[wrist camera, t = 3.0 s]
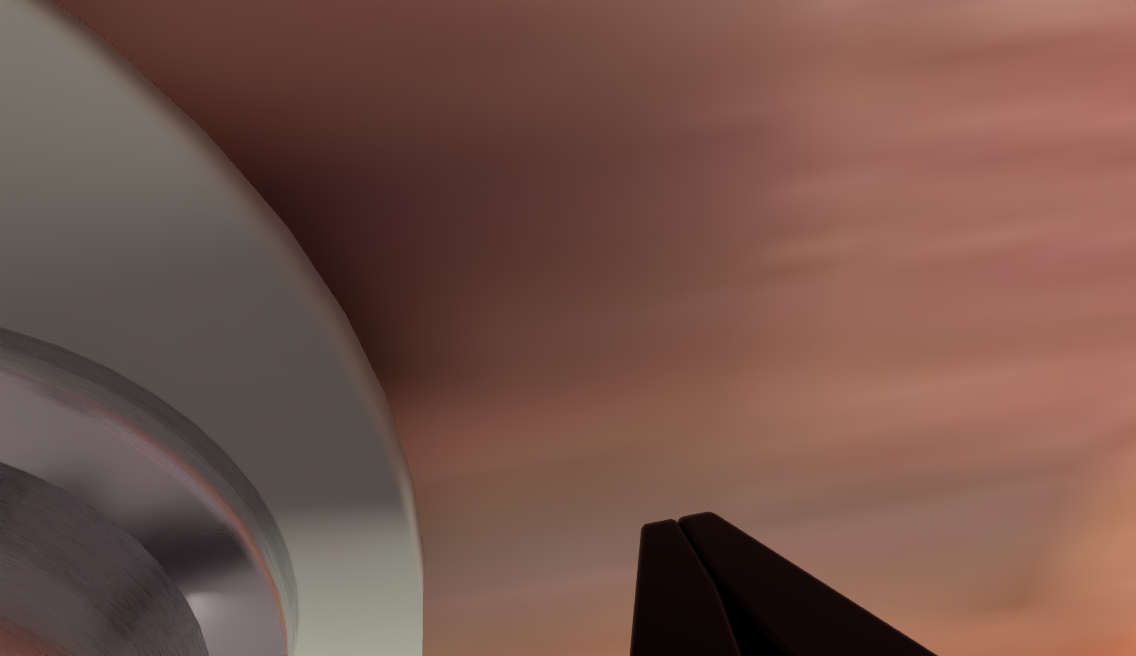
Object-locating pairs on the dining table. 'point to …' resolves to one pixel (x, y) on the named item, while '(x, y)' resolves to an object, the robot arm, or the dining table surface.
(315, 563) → the turntable
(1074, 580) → the dining table surface
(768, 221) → the dining table surface
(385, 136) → the dining table surface
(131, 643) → the cover cap
